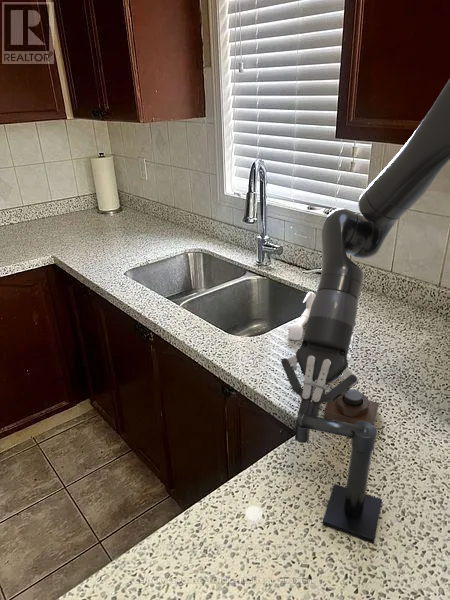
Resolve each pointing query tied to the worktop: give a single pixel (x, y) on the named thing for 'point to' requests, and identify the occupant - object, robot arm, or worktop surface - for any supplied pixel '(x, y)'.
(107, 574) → the worktop surface
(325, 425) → the spout
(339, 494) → the tap body
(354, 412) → the brown button base
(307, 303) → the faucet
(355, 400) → the pump button
